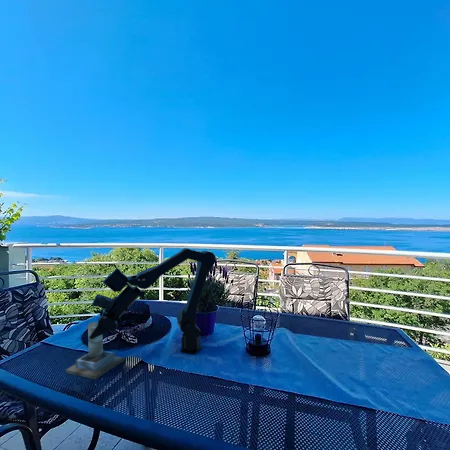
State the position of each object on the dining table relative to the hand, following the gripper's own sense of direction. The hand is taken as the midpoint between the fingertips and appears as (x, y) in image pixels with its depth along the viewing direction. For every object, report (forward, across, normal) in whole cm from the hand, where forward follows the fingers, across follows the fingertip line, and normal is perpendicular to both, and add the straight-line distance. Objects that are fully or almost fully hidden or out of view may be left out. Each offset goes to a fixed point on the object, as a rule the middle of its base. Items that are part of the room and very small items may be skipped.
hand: (91, 335), depth 95 cm
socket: (+7, 0, +9) cm, 11 cm away
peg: (+4, 0, +6) cm, 7 cm away
